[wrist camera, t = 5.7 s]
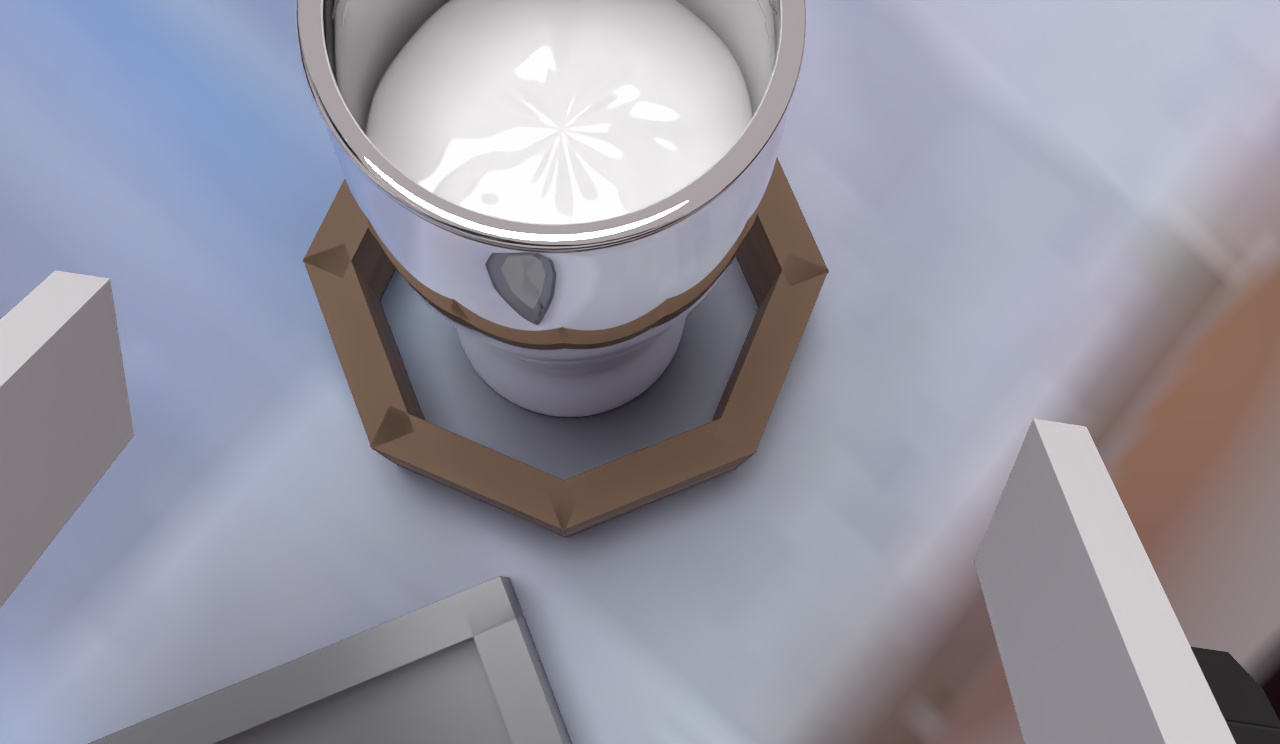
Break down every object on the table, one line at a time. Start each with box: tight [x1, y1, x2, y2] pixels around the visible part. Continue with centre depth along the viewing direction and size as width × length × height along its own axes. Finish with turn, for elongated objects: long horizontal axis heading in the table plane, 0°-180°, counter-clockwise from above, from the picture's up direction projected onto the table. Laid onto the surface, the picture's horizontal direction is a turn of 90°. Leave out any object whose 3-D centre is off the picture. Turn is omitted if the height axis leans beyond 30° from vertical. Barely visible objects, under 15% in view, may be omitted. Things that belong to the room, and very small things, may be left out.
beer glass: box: [296, 0, 806, 417], centre depth 21 cm, size 7×7×15 cm
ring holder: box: [303, 158, 829, 537], centre depth 27 cm, size 11×11×4 cm
